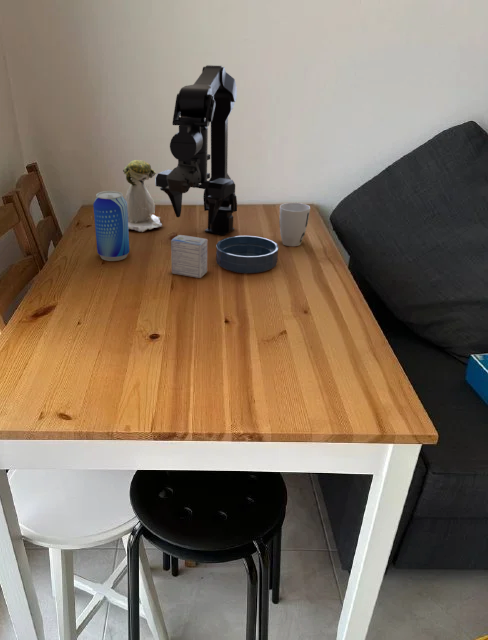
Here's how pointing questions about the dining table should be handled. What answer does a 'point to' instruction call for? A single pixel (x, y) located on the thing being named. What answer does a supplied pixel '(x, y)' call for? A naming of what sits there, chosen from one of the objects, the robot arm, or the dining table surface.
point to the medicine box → (189, 256)
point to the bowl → (246, 254)
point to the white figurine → (140, 197)
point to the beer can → (111, 225)
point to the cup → (293, 222)
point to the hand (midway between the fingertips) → (194, 220)
